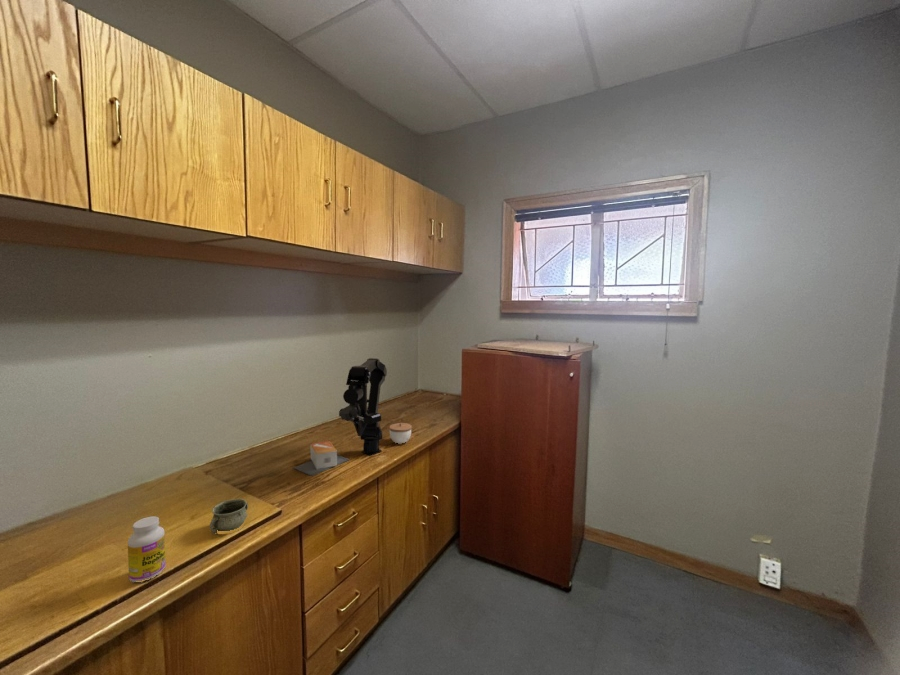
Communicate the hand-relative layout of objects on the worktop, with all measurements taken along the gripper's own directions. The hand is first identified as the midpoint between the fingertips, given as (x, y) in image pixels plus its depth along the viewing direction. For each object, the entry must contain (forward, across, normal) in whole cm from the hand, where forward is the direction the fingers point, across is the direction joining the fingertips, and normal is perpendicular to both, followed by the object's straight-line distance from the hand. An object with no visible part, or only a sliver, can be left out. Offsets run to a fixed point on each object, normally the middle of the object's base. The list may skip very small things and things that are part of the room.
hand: (359, 436), depth 143 cm
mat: (+13, -14, -7) cm, 21 cm away
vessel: (+13, 0, -49) cm, 51 cm away
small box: (+9, -9, -9) cm, 16 cm away
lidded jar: (+13, -6, +31) cm, 34 cm away
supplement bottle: (+13, +4, -69) cm, 70 cm away
